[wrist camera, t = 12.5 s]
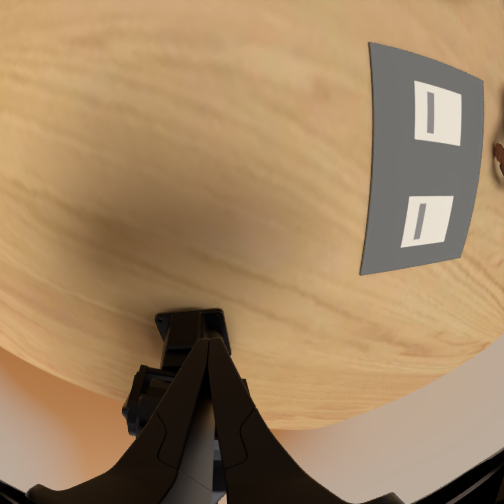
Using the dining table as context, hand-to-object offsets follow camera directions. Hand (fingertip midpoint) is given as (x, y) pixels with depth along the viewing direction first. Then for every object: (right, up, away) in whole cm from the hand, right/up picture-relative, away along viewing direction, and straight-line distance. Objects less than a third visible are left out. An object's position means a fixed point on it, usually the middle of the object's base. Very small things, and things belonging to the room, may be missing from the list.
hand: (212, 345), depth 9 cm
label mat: (+18, +11, +10) cm, 23 cm away
